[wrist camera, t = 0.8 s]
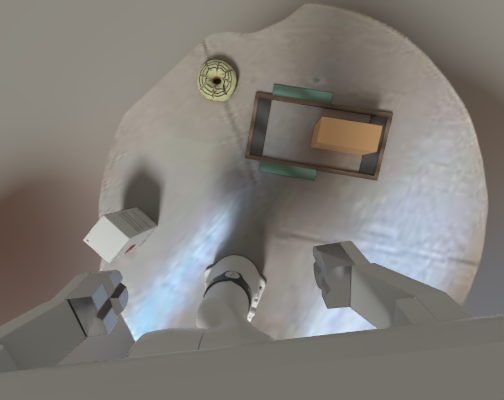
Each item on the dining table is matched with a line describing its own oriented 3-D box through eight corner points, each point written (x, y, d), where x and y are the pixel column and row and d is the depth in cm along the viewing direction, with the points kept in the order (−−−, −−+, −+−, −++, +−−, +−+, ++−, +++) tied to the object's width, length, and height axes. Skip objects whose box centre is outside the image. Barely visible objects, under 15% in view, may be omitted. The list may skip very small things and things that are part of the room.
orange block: (360, 155, 65) (376, 151, 55) (310, 147, 66) (317, 142, 56) (365, 133, 64) (382, 125, 54) (314, 125, 65) (322, 116, 55)
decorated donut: (232, 107, 67) (230, 103, 63) (196, 98, 67) (192, 94, 63) (241, 69, 65) (239, 63, 62) (204, 60, 66) (200, 54, 62)
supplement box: (141, 246, 73) (107, 264, 58) (119, 227, 73) (80, 240, 58) (159, 225, 72) (129, 238, 57) (137, 205, 72) (102, 214, 57)
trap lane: (373, 190, 66) (374, 191, 65) (243, 168, 68) (243, 168, 67) (394, 102, 63) (395, 101, 62) (258, 82, 65) (258, 81, 64)
